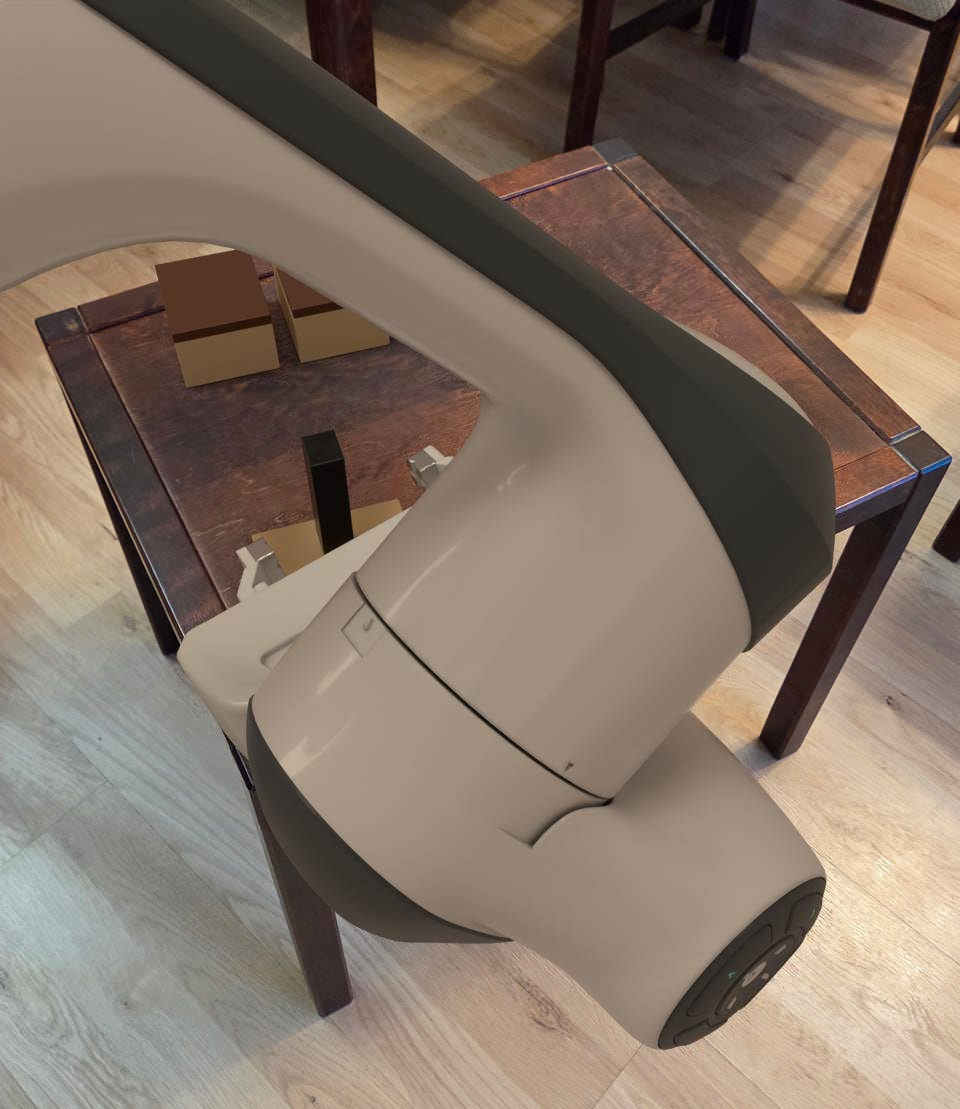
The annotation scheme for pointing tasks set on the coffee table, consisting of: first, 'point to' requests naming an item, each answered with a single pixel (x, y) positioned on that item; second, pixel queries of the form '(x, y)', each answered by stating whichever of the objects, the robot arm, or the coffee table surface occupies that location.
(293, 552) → the knife block
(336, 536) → the knife
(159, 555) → the coffee table surface
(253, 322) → the cake left
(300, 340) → the cake right
